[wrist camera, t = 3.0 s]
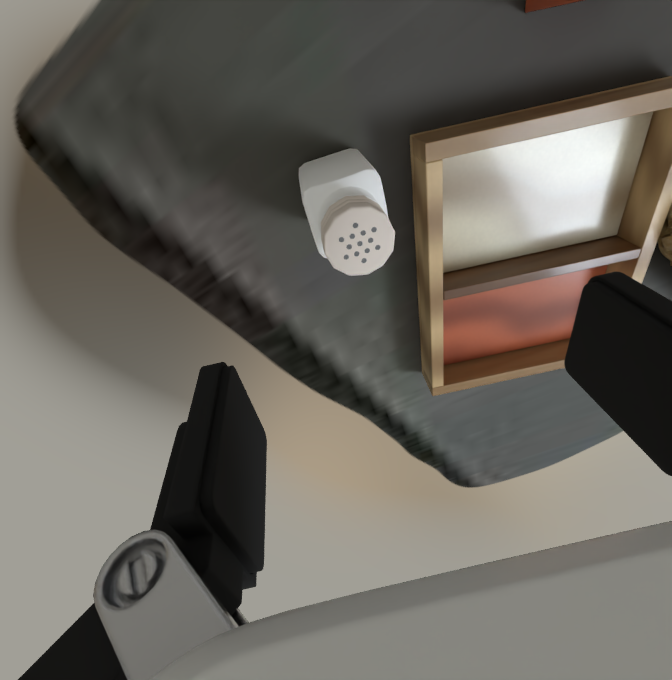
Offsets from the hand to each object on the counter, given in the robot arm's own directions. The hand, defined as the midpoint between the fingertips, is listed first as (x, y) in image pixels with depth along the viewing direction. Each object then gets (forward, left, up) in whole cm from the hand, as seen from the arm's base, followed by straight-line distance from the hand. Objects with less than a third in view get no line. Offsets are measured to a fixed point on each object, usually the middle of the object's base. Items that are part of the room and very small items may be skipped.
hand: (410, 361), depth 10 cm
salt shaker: (0, 0, -18) cm, 18 cm away
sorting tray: (+8, +13, -17) cm, 23 cm away
